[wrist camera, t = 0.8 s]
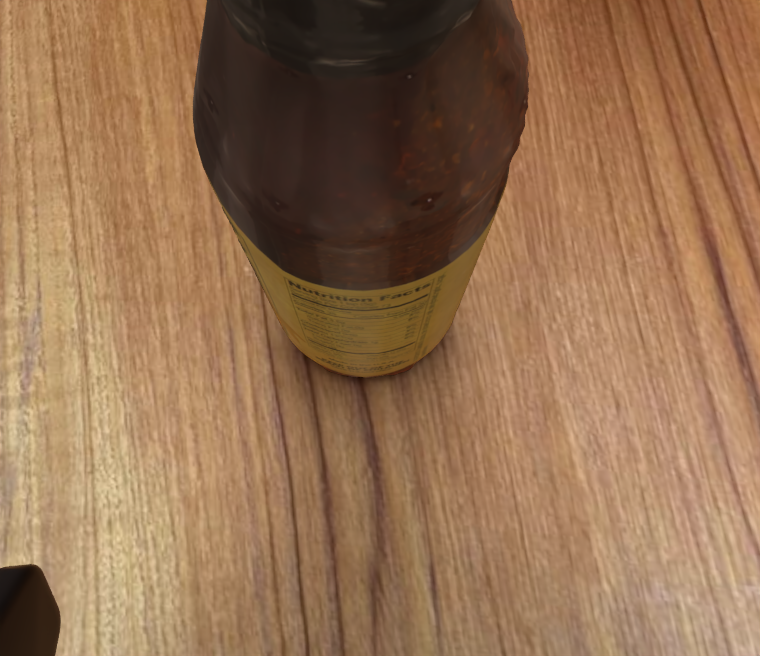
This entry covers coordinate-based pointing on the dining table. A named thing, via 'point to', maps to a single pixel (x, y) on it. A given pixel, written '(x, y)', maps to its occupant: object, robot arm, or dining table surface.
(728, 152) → the dining table surface
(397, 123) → the sauce bottle
